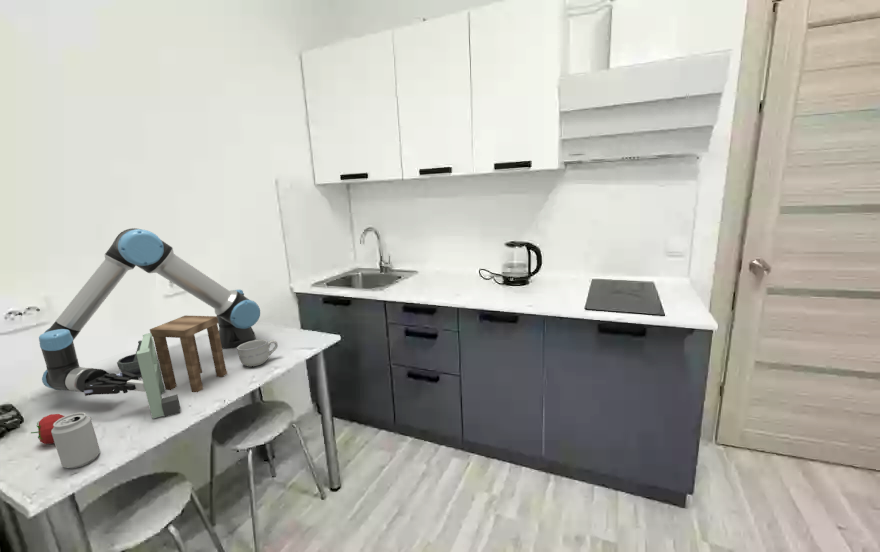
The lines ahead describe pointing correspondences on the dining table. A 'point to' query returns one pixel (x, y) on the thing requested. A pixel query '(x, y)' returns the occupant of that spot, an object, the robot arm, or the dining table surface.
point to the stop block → (170, 405)
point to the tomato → (47, 428)
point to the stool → (188, 348)
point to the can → (75, 440)
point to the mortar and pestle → (130, 363)
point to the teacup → (255, 352)
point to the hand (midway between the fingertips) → (146, 386)
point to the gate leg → (151, 375)
